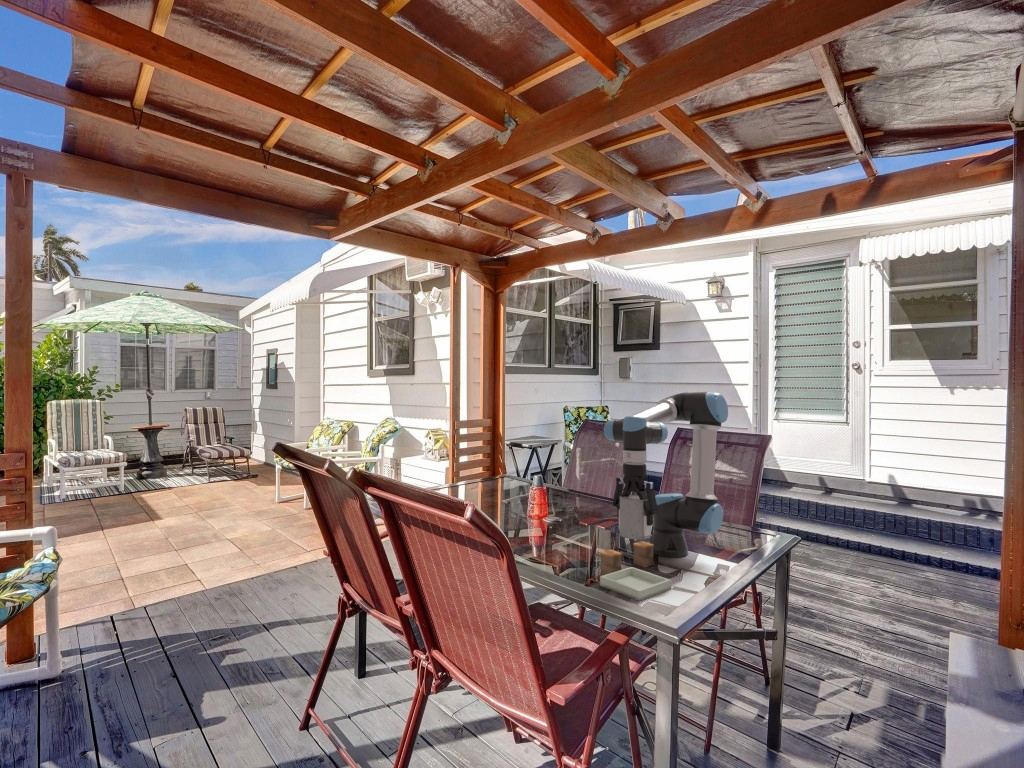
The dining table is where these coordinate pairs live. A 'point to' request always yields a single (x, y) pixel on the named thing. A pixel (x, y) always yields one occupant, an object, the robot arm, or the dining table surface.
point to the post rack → (613, 558)
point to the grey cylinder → (632, 517)
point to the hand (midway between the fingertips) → (634, 531)
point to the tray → (635, 583)
